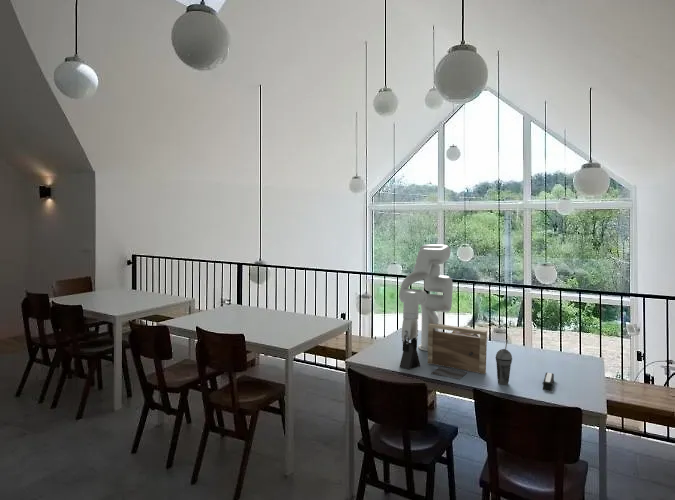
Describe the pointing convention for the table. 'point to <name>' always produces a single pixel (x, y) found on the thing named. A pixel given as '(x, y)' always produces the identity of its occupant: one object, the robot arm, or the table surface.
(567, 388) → the table surface
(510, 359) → the beverage cup
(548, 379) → the bus
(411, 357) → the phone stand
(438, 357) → the model door
